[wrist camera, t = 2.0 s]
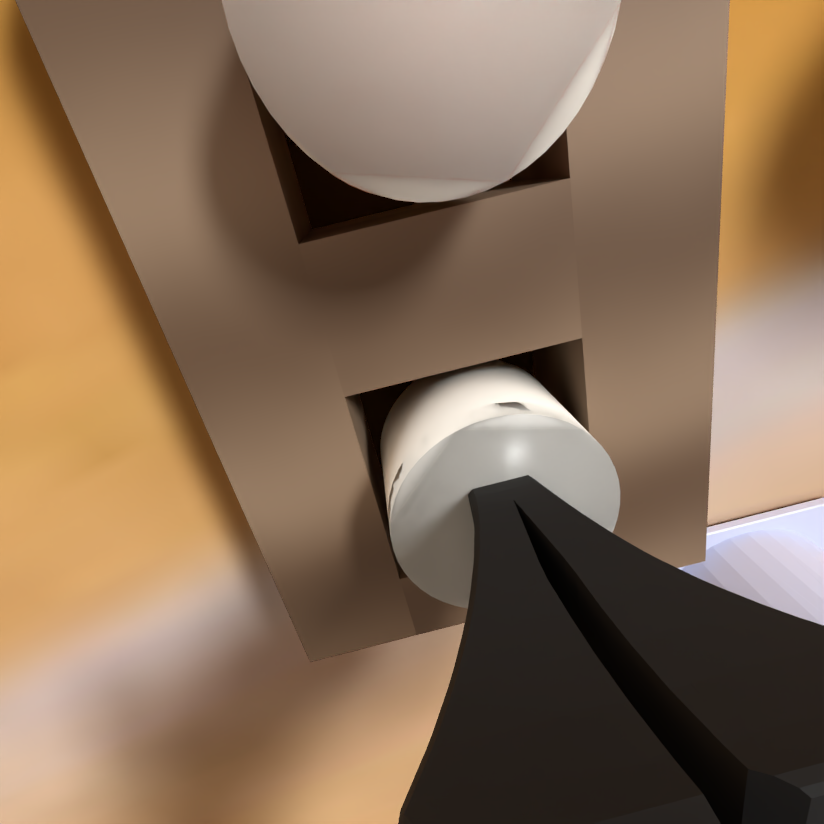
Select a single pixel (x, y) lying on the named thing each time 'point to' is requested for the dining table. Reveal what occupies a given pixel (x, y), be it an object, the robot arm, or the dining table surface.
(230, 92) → the housing
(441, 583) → the white domed canister
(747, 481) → the dining table surface
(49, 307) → the dining table surface
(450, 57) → the plunger
